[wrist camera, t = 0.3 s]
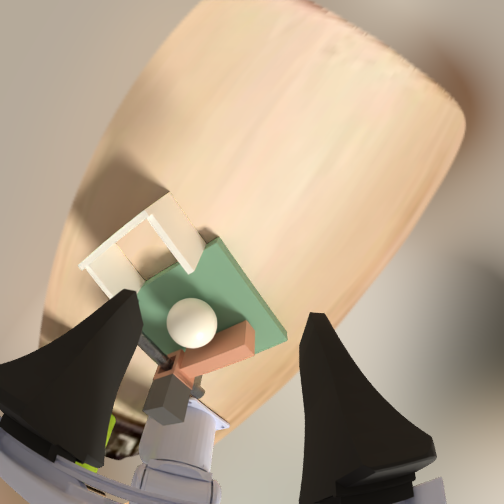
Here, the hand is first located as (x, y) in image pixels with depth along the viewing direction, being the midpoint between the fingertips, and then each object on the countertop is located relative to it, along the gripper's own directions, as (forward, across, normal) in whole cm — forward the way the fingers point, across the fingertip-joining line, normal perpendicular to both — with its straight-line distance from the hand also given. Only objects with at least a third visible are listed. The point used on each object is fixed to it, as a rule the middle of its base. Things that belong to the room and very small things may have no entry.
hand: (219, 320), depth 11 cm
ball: (+7, +3, +8) cm, 11 cm away
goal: (+10, +7, +3) cm, 13 cm away
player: (+8, +2, +11) cm, 14 cm away
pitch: (+10, +4, +10) cm, 15 cm away
